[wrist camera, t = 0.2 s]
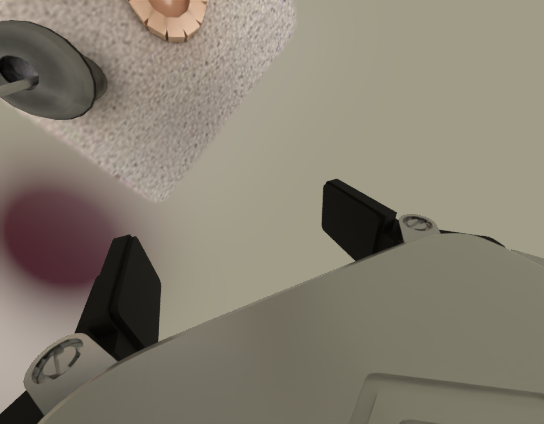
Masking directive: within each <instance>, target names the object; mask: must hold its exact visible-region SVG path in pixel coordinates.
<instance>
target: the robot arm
mask: <svg viewBox="0 0 544 424" xmlns="http://www.w3.org/2000/svg"><path fill="white" fill-rule="evenodd" d="M396 214H397V212H395V211H393V210H391V209H390V208H388V207H386V206H384V205H382V204H381V203H379V202H377V201H376V200H374V199H372V198H370V197H368V196H367V195H365V194H363V193H361V192H359V191H358V190H356V189H354V188H353V187H351V186H349V185H347V184H346V183H344V182H342V181H340V180H338V179H334V180H331V181H327V182H326V184H325V185H324V187H323V207H322V228H323V230H324V231H325V232H326V233H327V234H328V235H329V236H330V237H331V238H332V239H333V240H334V241H335V242H336V243H337V244H338V245H339V246H341V248H342V249H343V250H345V251H346V252H347V253H348V254H349V255H350V256H351V257H352V258H353V259H354V260H355V262H353V263H350V264H348V265H345V266H343V267H340V268H338V269H335V270H333V271H330V272H328V273H325V274H322V275H320V276H318V277H315V278H313V279H310V280H308V281H305V282H303V283H300V284H298V285H295V286H293V287H290V288H288V289H285V290H283V291H280V292H278V293H275V294H273V295H270V296H268V297H265V298H263V299H260V300H258V301H256V302H253V303H251V304H248V305H246V306H243V307H241V308H238V309H236V310H234V311H232V312H229V313H226V314H224V315H221V316H219V317H217V318H214V319H211V320H209V321H207V322H204V323H202V324H199V325H197V326H195V327H192V328H190V329H188V330H185V331H183V332H181V333H179V334H176V335H174V336H171V337H169V338H167V339H164V340H162V341H160V342H158V336H159V316H160V315H159V314H160V296H161V282H160V279H159V277H158V275H157V273H156V272H155V270H154V268H153V266H152V264H151V262H150V260H149V258H148V257H147V255H146V253H145V251H144V249H143V247H142V245H141V244H140V242H139V240H138V238H137V237H136V236H135V237H132V236H131V235H126V236H122V237H118V238H115V239H113V241H112V244H111V246H110V249H109V251H108V254H107V257H106V259H105V262H104V265H103V268H102V270H101V273H100V275H99V276H98V277H97V278H96V279H95V282H94V285H93V287H92V290H91V292H90V295H89V297H88V300H87V302H86V305H85V308H84V310H83V313H82V315H81V318H80V320H79V323H78V326H77V328H76V331H75V333H74V334H71V335H68V336H65V337H63V338H61V339H59V340H57V341H56V342H54V343H53V344H52V345H50V346H49V347H47V348H46V349H45V350H44V351H43V352H42V353H41V354H40V355H38V357H37V358H36V359H35V360H34V361H33V362H32V364H31V365H30V367H29V368H28V370H27V372H26V374H25V377H24V386H25V389H26V391H25V392H24V393H23V394H22V395H21V396H20V397H18V398H17V399H16V400H15V401H14V402H13V403H12V404H11V405H10V406H9V407H7V408H6V409H5V410H4V411H3V412H2V413H1V414H0V424H544V259H543V258H540V257H536V256H533V255H529V254H526V253H522V252H519V251H515V250H509V249H507V248H505V246H503V245H502V244H500V243H499V242H497V241H496V240H494V239H492V238H490V237H486V236H479V235H472V234H465V233H458V232H451V231H444V230H439V229H438V228H437V225H436V224H435V223H434V222H433V221H432V220H431V219H429V218H427V217H424V216H421V215H415V214H407V215H403V216H401V217H400V218H399V220H397V219H396Z"/></svg>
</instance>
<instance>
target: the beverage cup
mask: <svg viewBox="0 0 544 424" xmlns="http://www.w3.org/2000/svg"><path fill="white" fill-rule="evenodd" d="M106 89H107V79H106V76H105V74H104V73H103V71H102V69H101V68H100V67H99V66H98V65H97V64H96V63H94V62H93V61H92V60H90V59H89V58H87V57H85V56H84V55H82V54H81V53H80V52H79V51H78V50H77V49H76V48H75V47H74V46H73V45H72V44H71V43H70V42H69V41H68V40H66V39H65V38H63V37H62V36H60V35H59V34H57V33H55V32H54V31H52V30H51V29H49V28H46V27H43V26H40V25H38V24H35V23H32V22H27V21H15V20H10V21H1V22H0V97H1V98H2V99H4V100H5V101H6V102H8V103H9V104H11V105H12V106H14V107H16V108H18V109H20V110H22V111H25V112H27V113H29V114H31V115H36V116H40V117H45V118H49V119H55V120H68V119H74V118H77V117H80V116H82V115H84V114H85V113H86V112H87V111H89V110H90V109H91V108H92V106H93V104H94V101H95V100H97V99H98V98H100V97H101V96H102V95H103V94H104V92H105V91H106Z"/></svg>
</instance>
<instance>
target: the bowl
mask: <svg viewBox="0 0 544 424" xmlns="http://www.w3.org/2000/svg"><path fill="white" fill-rule="evenodd" d="M128 1H129V3H130V5H131V7H132V9H133V11H134V13H135V14H136V15H137V17H138V18H139V19H140V21H141V22H142V23H143V25H144V26H145V27H146V29H147V28H149V31H150V32H151V33H153V34H155V35H156V36H158V37H160V38H161V39H163V40H165V41H166V38H167V36H168V40H169V42H184V39H185V40H186V41H187V40H188V39H189V38H191V37H192V36H193V35H194V34H196V33H197V31H198V30H199V28H200V26H201V24H202V21H203V18H204V14H205V11H206V8H207V5H206V3H207V0H128Z"/></svg>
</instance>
